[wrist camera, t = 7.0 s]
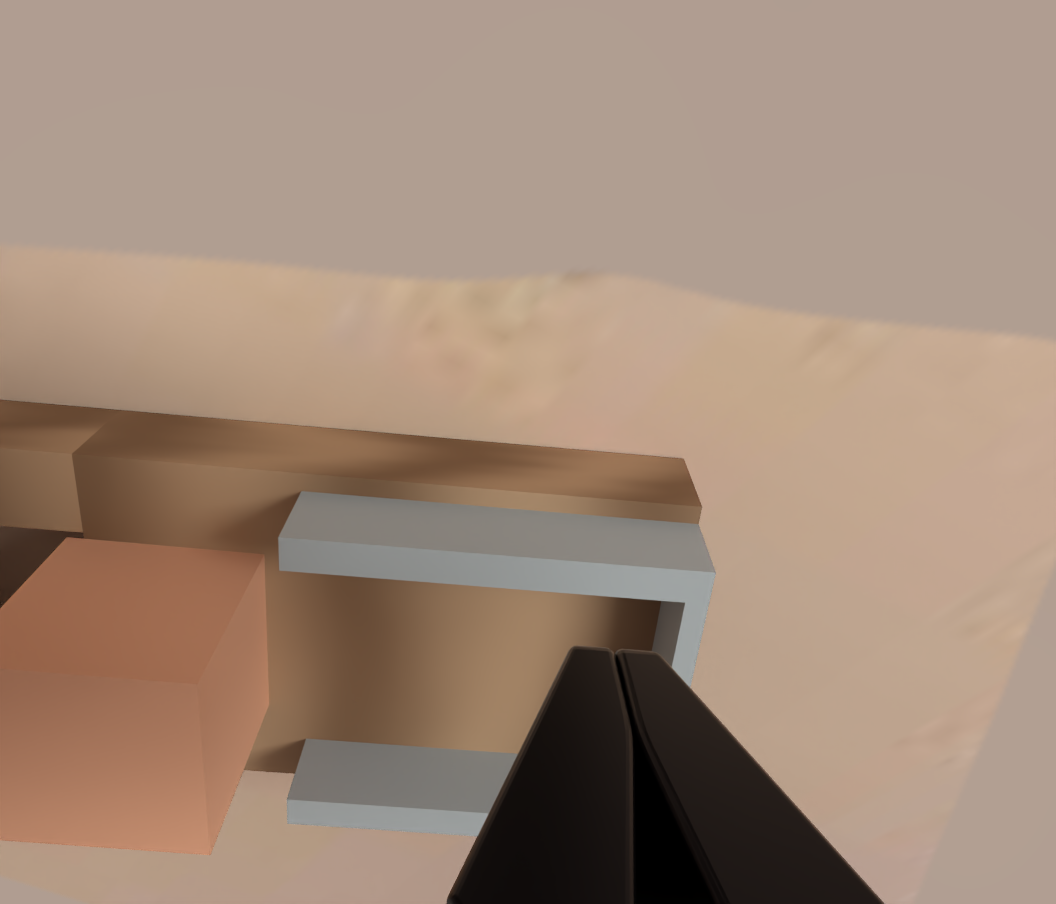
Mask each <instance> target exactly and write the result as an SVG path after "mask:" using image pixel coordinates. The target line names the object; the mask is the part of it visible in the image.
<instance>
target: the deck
mask: <svg viewBox="0 0 1056 904" xmlns="http://www.w3.org/2000/svg"><path fill="white" fill-rule="evenodd" d="M301 491H305V492H317V493H329V494H341V495H353V496H366V497H378V498H390V499H402V500H414V501H426V502H438V503H450V504H462V505H474V506H486V507H498V508H510V509H522V510H534V511H546V512H558V513H570V514H582V515H594V516H606V517H618V518H630V519H642V520H654V521H666V522H678V523H690V524H699V519H700V514H701V509H702V506H701V503H700V500H699V498H698V495H697V492H696V490H695V487H694V485H693V482H692V479H691V477H690V474H689V471H688V469H687V466H686V463H685V461H684V459H679V458H667V457H656V456H644V455H632V454H621V453H609V452H598V451H586V450H574V449H563V448H551V447H540V446H528V445H516V444H505V443H493V442H482V441H470V440H459V439H447V438H435V437H424V436H412V435H401V434H389V433H377V432H366V431H354V430H343V429H331V428H319V427H308V426H296V425H285V424H273V423H262V422H250V421H238V420H227V419H215V418H204V417H192V416H180V415H169V414H157V413H146V412H134V411H122V410H111V409H99V408H88V407H76V406H65V405H53V404H41V403H30V402H18V401H7V400H0V526H8V527H20V528H33V529H45V530H58V531H70V532H83V536H84V539H94V540H105V541H117V542H128V543H140V544H152V545H163V546H175V547H186V548H198V549H209V550H221V551H232V552H244V553H256V554H264V557H265V589H266V621H267V652H268V684H269V706H268V709H267V711H266V714H265V716H264V719H263V722H262V724H261V727H260V729H259V732H258V734H257V737H256V740H255V742H254V745H253V747H252V750H251V752H250V755H249V757H248V760H247V763H246V765H245V768H244V770H252V771H266V772H281V773H295V772H296V769H297V766H298V763H299V760H300V756H301V753H302V750H303V747H304V744H305V741H306V739H318V740H332V741H346V742H360V743H374V744H388V745H402V746H416V747H430V748H444V749H458V750H472V751H486V752H500V753H514V754H518V753H519V751H520V749H521V747H522V745H523V743H524V741H525V739H526V736H527V734H528V732H529V730H530V728H531V726H532V724H533V722H534V720H535V718H536V716H537V714H538V712H539V710H540V708H541V706H542V704H543V702H544V700H545V698H546V696H547V694H548V692H549V690H550V688H551V686H552V683H553V681H554V679H555V677H556V675H557V673H558V671H559V669H560V667H561V665H562V663H563V661H564V659H565V657H566V655H567V653H568V651H569V650H570V648H571V647H573V646H577V645H579V646H592V647H605V648H609V649H610V650H612V651H613V652H614V654H615V652H616V651H617V650H619V649H631V650H644V651H652V647H653V642H654V637H655V632H656V627H657V621H658V616H659V611H660V606H661V601H658V600H645V599H632V598H620V597H607V596H595V595H582V594H569V593H557V592H544V591H531V590H519V589H506V588H494V587H481V586H468V585H456V584H443V583H431V582H418V581H405V580H393V579H380V578H367V577H355V576H342V575H330V574H317V573H304V572H292V571H279V545H278V537H279V535H280V533H281V531H282V529H283V527H284V525H285V523H286V521H287V519H288V517H289V515H290V513H291V511H292V509H293V507H294V505H295V503H296V501H297V499H298V497H299V495H300V493H301Z"/></svg>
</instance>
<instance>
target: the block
mask: <svg viewBox="0 0 1056 904" xmlns="http://www.w3.org/2000/svg"><path fill="white" fill-rule="evenodd" d="M268 706H269V684H268V652H267V621H266V589H265V557H264V554H256V553H244V552H232V551H221V550H209V549H198V548H186V547H175V546H163V545H152V544H140V543H128V542H117V541H105V540H94V539H82V538H71V537H66V539H65V540H64V541H63V542H62V543H61V544H60V545H59V546H58V547H57V548H56V549H55V550H54V551H53V552H52V554H51V555H50V556H49V557H48V558H47V559H46V560H45V561H44V562H43V563H42V564H41V565H40V566H39V567H38V569H37V570H36V571H35V572H34V573H33V574H32V575H31V576H30V577H29V578H28V579H27V580H26V581H25V582H24V583H23V585H22V586H21V587H20V588H19V589H18V590H17V591H16V592H15V593H14V594H13V595H12V596H11V597H10V598H9V600H8V601H7V602H6V603H5V604H4V605H3V606H2V607H1V608H0V840H5V841H19V842H33V843H47V844H61V845H75V846H90V847H104V848H118V849H132V850H146V851H160V852H174V853H189V854H203V855H211V852H212V850H213V847H214V844H215V842H216V839H217V837H218V834H219V832H220V829H221V827H222V824H223V821H224V819H225V816H226V814H227V811H228V809H229V806H230V804H231V801H232V798H233V796H234V793H235V791H236V788H237V786H238V783H239V780H240V778H241V775H242V773H243V770H244V768H245V765H246V763H247V760H248V757H249V755H250V752H251V750H252V747H253V745H254V742H255V740H256V737H257V734H258V732H259V729H260V727H261V724H262V722H263V719H264V716H265V714H266V711H267V709H268Z"/></svg>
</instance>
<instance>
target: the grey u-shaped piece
mask: <svg viewBox="0 0 1056 904" xmlns="http://www.w3.org/2000/svg"><path fill="white" fill-rule="evenodd" d="M278 545H279V571H292V572H304V573H317V574H330V575H342V576H355V577H367V578H380V579H393V580H405V581H418V582H431V583H443V584H456V585H468V586H481V587H494V588H506V589H519V590H531V591H544V592H557V593H569V594H582V595H595V596H607V597H620V598H632V599H645V600H658V601H661V606H660V611H659V616H658V621H657V627H656V632H655V637H654V642H653V647H652V651H654V652H656V653H658V654H660V655H661V656H662V657H663V658H664V659H665V660H666V662H667V663H668V664H669V665H670V666H671V667H672V668H673V669H674V670H675V672H676V673H677V674H678V675H679V676H680V677H681V678H682V679H683V680H684V682H685V683H686V684H687V685H688V686H689V687H690V686H691V682H692V677H693V673H694V668H695V664H696V659H697V655H698V650H699V646H700V641H701V637H702V632H703V628H704V623H705V619H706V615H707V610H708V606H709V601H710V597H711V592H712V588H713V583H714V579H715V574H716V572H715V569H714V566H713V563H712V561H711V558H710V555H709V552H708V549H707V547H706V544H705V541H704V538H703V535H702V533H701V530H700V527H699V524H690V523H678V522H666V521H654V520H642V519H630V518H618V517H606V516H594V515H582V514H570V513H558V512H546V511H534V510H522V509H510V508H498V507H486V506H474V505H462V504H450V503H438V502H426V501H414V500H402V499H390V498H378V497H366V496H353V495H341V494H329V493H317V492H305V491H301V493H300V495H299V497H298V499H297V501H296V503H295V505H294V507H293V509H292V511H291V513H290V515H289V517H288V519H287V521H286V523H285V525H284V527H283V529H282V531H281V533H280V535H279V537H278ZM517 755H518V754H514V753H500V752H486V751H472V750H458V749H444V748H430V747H416V746H402V745H388V744H374V743H360V742H346V741H332V740H318V739H306V741H305V744H304V747H303V750H302V753H301V756H300V760H299V763H298V766H297V769H296V772H295V775H294V778H293V782H292V785H291V788H290V791H289V794H288V797H287V822H288V824H301V825H316V826H331V827H345V828H360V829H375V830H390V831H405V832H420V833H435V834H450V835H465V836H478V834H479V832H480V830H481V828H482V826H483V824H484V822H485V820H486V818H487V816H488V814H489V812H490V810H491V808H492V806H493V804H494V802H495V800H496V798H497V796H498V794H499V792H500V789H501V787H502V785H503V783H504V781H505V779H506V777H507V775H508V773H509V771H510V769H511V767H512V765H513V763H514V761H515V759H516V757H517Z"/></svg>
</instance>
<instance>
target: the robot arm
mask: <svg viewBox="0 0 1056 904" xmlns="http://www.w3.org/2000/svg"><path fill="white" fill-rule="evenodd" d="M447 904H884V903H883V901H882V900H881V899H880V898H879V897H878V896H877V895H876V894H875V893H874V891H873V890H872V889H871V888H870V887H869V886H868V885H867V884H866V883H865V881H864V880H863V879H862V878H861V877H860V876H859V875H858V874H857V873H856V871H855V870H854V869H853V868H852V867H851V866H850V865H849V864H848V863H847V861H846V860H845V859H844V858H843V857H842V856H841V855H840V854H839V853H838V851H837V850H836V849H835V848H834V847H833V846H832V845H831V844H830V843H829V841H828V840H827V839H826V838H825V837H824V836H823V835H822V834H821V833H820V831H819V830H818V829H817V828H816V827H815V826H814V825H813V824H812V823H811V821H810V820H809V819H808V818H807V817H806V816H805V815H804V814H803V813H802V811H801V810H800V809H799V808H798V807H797V806H796V805H795V804H794V803H793V801H792V800H791V799H790V798H789V797H788V796H787V795H786V794H785V793H784V792H783V790H782V789H781V788H780V787H779V786H778V785H777V784H776V783H775V782H774V780H773V779H772V778H771V777H770V776H769V775H768V774H767V773H766V772H765V770H764V769H763V768H762V767H761V766H760V765H759V764H758V763H757V762H756V760H755V759H754V758H753V757H752V756H751V755H750V754H749V753H748V752H747V750H746V749H745V748H744V747H743V746H742V745H741V744H740V743H739V742H738V740H737V739H736V738H735V737H734V736H733V735H732V734H731V733H730V732H729V730H728V729H727V728H726V727H725V726H724V725H723V724H722V723H721V722H720V720H719V719H718V718H717V717H716V716H715V715H714V714H713V713H712V712H711V710H710V709H709V708H708V707H707V706H706V705H705V704H704V703H703V702H702V700H701V699H700V698H699V697H698V696H697V695H696V694H695V693H694V692H693V690H692V689H691V688H690V687H689V686H688V685H687V684H686V683H685V682H684V680H683V679H682V678H681V677H680V676H679V675H678V674H677V673H676V672H675V670H674V669H673V668H672V667H671V666H670V665H669V664H668V663H667V662H666V660H665V659H664V658H663V657H662V656H661V655H660V654H658V653H656V652H654V651H644V650H631V649H619V650H617V651H616V652H615V654H614V652H613V651H612V650H610V649H609V648H605V647H592V646H579V645H577V646H573V647H571V648H570V650H569V651H568V653H567V655H566V657H565V659H564V661H563V663H562V665H561V667H560V669H559V671H558V673H557V675H556V677H555V679H554V681H553V683H552V686H551V688H550V690H549V692H548V694H547V696H546V698H545V700H544V702H543V704H542V706H541V708H540V710H539V712H538V714H537V716H536V718H535V720H534V722H533V724H532V726H531V728H530V730H529V732H528V734H527V736H526V739H525V741H524V743H523V745H522V747H521V749H520V751H519V753H518V755H517V757H516V759H515V761H514V763H513V765H512V767H511V769H510V771H509V773H508V775H507V777H506V779H505V781H504V783H503V785H502V787H501V789H500V792H499V794H498V796H497V798H496V800H495V802H494V804H493V806H492V808H491V810H490V812H489V814H488V816H487V818H486V820H485V822H484V824H483V826H482V828H481V830H480V832H479V834H478V836H477V838H476V840H475V842H474V845H473V847H472V849H471V851H470V853H469V855H468V857H467V859H466V861H465V863H464V865H463V867H462V869H461V871H460V873H459V875H458V877H457V879H456V881H455V883H454V885H453V887H452V889H451V891H450V893H449V896H448V898H447Z"/></svg>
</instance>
